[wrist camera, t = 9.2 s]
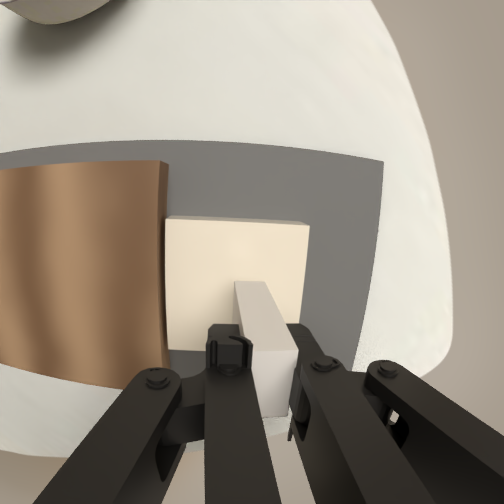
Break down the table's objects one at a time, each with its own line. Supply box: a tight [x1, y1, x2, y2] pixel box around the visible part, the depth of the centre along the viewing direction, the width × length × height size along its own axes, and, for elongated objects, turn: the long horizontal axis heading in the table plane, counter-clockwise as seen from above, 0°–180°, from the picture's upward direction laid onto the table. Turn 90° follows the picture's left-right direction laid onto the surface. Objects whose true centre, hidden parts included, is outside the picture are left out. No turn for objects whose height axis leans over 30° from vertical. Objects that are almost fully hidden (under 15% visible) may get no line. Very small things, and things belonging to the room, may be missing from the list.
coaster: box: [165, 215, 310, 351], centre depth 18 cm, size 8×8×2 cm
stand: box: [0, 160, 170, 390], centre depth 16 cm, size 18×14×3 cm
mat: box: [0, 140, 384, 378], centre depth 19 cm, size 30×17×1 cm, turn 86°
